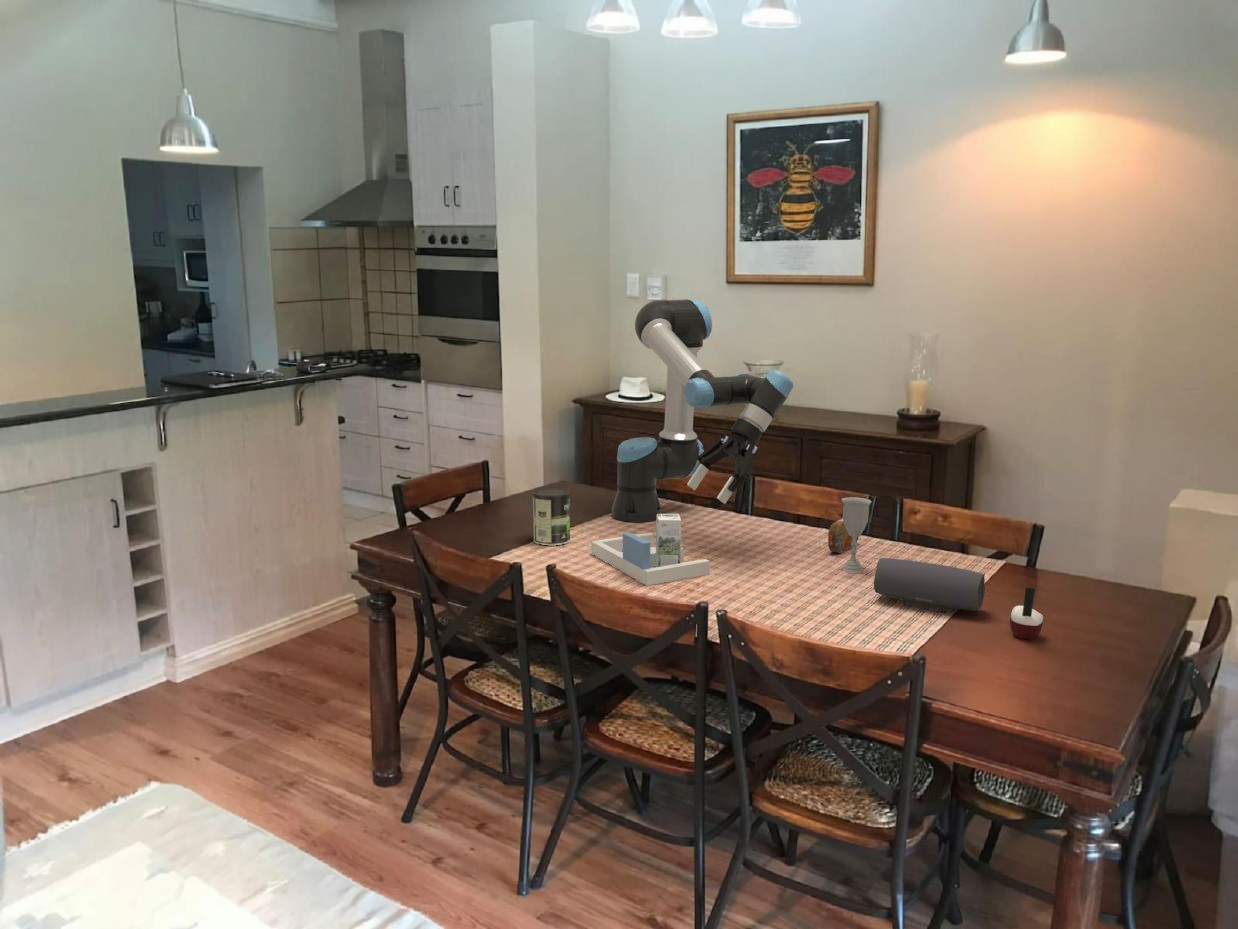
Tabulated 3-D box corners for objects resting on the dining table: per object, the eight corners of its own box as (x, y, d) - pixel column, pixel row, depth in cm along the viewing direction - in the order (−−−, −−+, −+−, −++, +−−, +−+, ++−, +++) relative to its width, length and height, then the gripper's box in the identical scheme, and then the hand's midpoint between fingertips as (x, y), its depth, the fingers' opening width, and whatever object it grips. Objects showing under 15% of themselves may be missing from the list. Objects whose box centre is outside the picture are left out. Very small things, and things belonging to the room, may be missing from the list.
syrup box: (677, 568, 250) (678, 512, 247) (680, 575, 245) (681, 518, 242) (655, 568, 250) (656, 512, 247) (657, 575, 244) (658, 519, 241)
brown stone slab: (836, 557, 260) (837, 526, 259) (825, 554, 262) (826, 524, 260) (859, 544, 272) (861, 514, 270) (849, 542, 274) (850, 512, 272)
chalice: (834, 571, 248) (838, 501, 244) (841, 564, 254) (845, 496, 250) (863, 575, 245) (867, 505, 241) (870, 568, 251) (874, 499, 247)
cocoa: (1017, 629, 212) (1021, 574, 210) (1048, 635, 207) (1052, 580, 206) (1000, 639, 205) (1004, 583, 203) (1031, 646, 201) (1035, 589, 199)
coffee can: (571, 536, 278) (571, 487, 275) (569, 546, 268) (568, 496, 265) (535, 535, 278) (534, 487, 276) (531, 546, 268) (530, 495, 265)
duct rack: (591, 554, 262) (591, 517, 259) (649, 544, 270) (650, 509, 268) (647, 585, 237) (647, 545, 235) (709, 574, 245) (710, 535, 243)
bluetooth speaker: (983, 609, 222) (987, 566, 220) (975, 622, 215) (979, 578, 213) (883, 591, 234) (885, 551, 232) (871, 603, 226) (874, 561, 224)
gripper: (790, 443, 245) (743, 514, 242) (731, 424, 266) (688, 489, 264) (772, 427, 241) (724, 499, 239) (714, 408, 262) (670, 474, 260)
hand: (705, 494), depth 251 cm, fingers open, 13 cm apart
